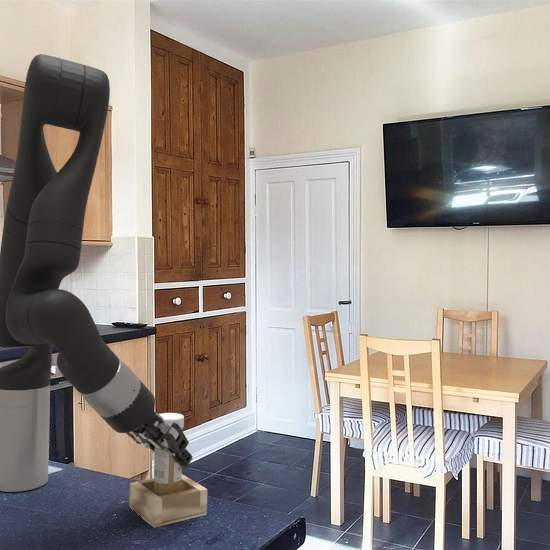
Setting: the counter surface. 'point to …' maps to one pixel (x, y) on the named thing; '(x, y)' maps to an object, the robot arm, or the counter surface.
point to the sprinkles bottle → (167, 463)
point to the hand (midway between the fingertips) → (177, 458)
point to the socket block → (168, 502)
